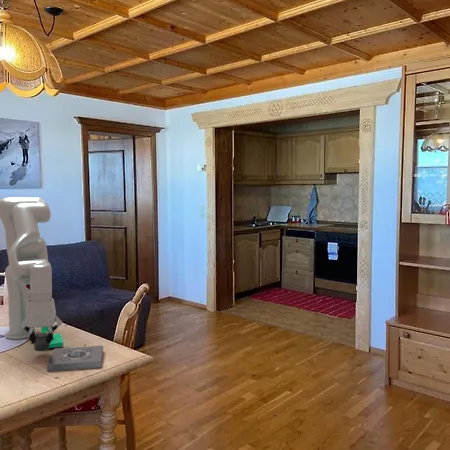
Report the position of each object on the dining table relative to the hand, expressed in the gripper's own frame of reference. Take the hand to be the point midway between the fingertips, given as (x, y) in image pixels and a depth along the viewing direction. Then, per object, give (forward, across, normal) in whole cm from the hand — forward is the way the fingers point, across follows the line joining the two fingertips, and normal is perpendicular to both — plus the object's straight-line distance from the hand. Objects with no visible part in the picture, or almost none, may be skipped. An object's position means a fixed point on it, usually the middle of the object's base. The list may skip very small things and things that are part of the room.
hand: (41, 342), depth 168 cm
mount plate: (+5, +14, -7) cm, 16 cm away
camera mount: (+7, +2, +12) cm, 14 cm away
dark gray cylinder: (+3, 0, +1) cm, 3 cm away
